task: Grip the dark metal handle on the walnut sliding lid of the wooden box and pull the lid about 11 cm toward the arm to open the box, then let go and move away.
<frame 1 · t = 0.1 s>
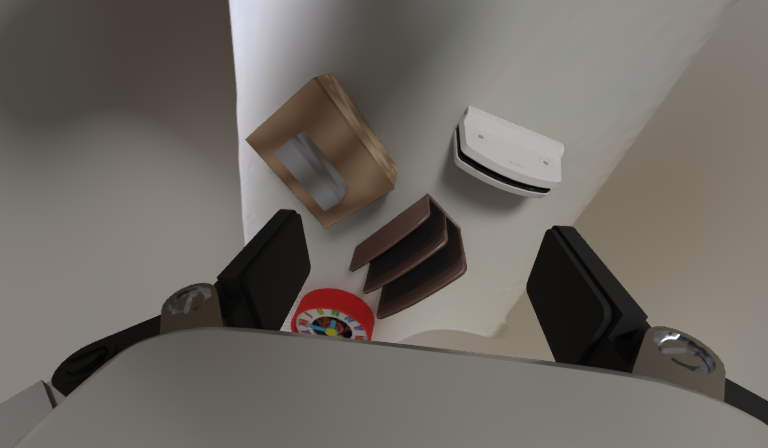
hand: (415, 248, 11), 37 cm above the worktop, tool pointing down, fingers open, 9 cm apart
lid: (316, 169, 39), point 10 cm above the worktop, slide at 0.0 cm
wooden box: (336, 147, 48), on the worktop
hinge: (501, 147, 45), on the worktop
letter holder: (405, 236, 56), on the worktop
toy clock: (337, 314, 73), on the worktop
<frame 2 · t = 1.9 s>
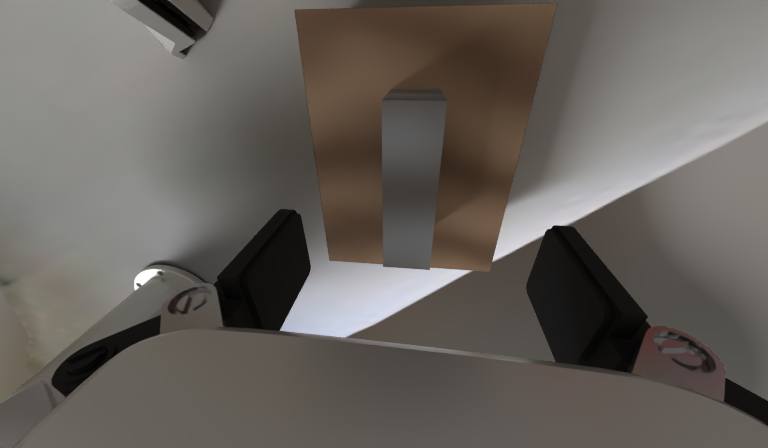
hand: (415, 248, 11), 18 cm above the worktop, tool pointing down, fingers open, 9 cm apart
lid: (411, 177, 18), point 10 cm above the worktop, slide at 0.0 cm
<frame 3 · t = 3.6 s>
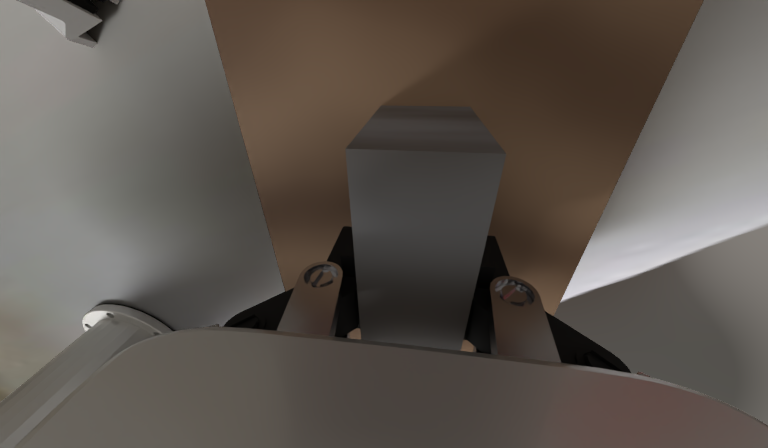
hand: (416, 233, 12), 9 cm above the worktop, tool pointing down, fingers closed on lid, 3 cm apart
lid: (415, 256, 10), point 10 cm above the worktop, slide at 0.0 cm, touching gripper
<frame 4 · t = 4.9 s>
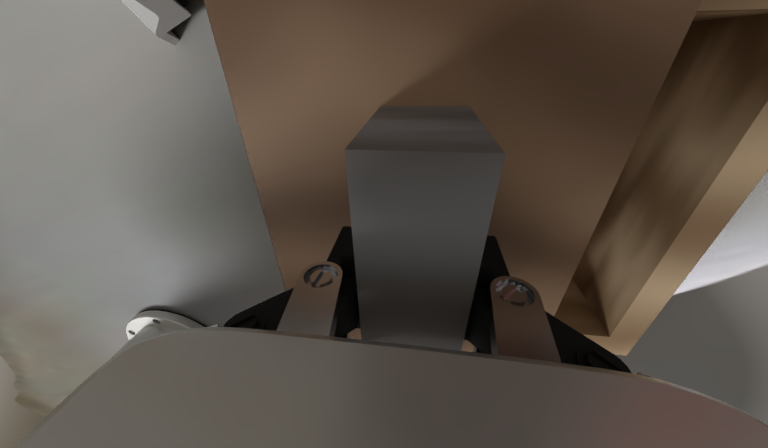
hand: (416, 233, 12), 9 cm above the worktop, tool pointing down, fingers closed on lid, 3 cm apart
lid: (415, 256, 10), point 10 cm above the worktop, slide at 5.9 cm, touching gripper
wooden box: (508, 165, 18), on the worktop
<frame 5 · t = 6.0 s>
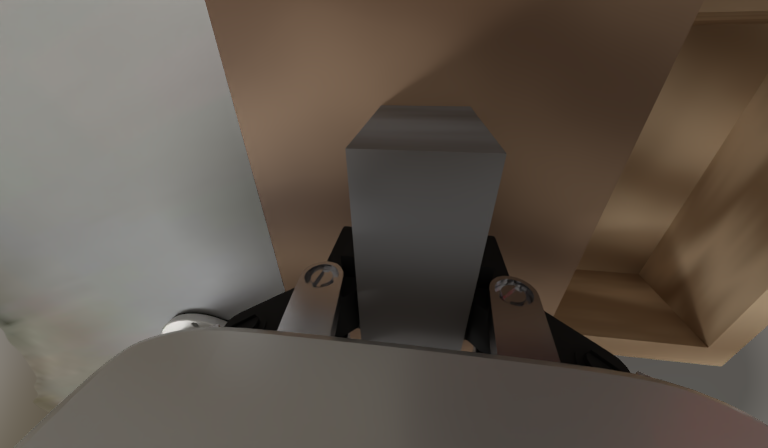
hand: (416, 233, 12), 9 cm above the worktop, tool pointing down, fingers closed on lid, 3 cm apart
lid: (415, 256, 10), point 10 cm above the worktop, slide at 11.0 cm, touching gripper
wooden box: (591, 169, 18), on the worktop
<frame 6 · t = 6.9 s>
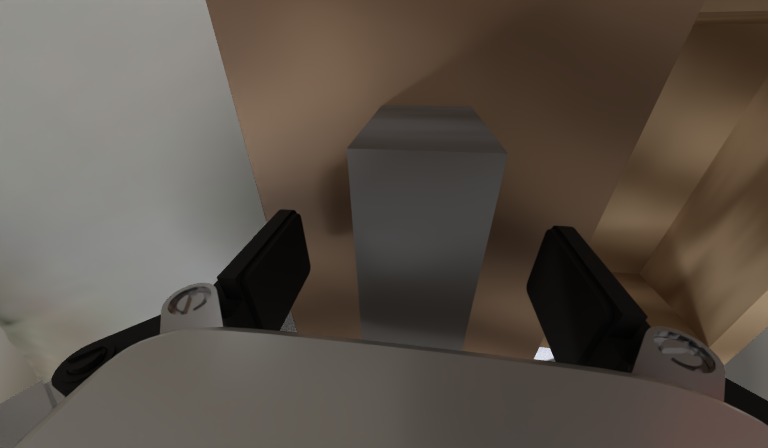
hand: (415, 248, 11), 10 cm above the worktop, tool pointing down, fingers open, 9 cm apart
lid: (415, 256, 10), point 10 cm above the worktop, slide at 11.0 cm
wooden box: (592, 169, 18), on the worktop
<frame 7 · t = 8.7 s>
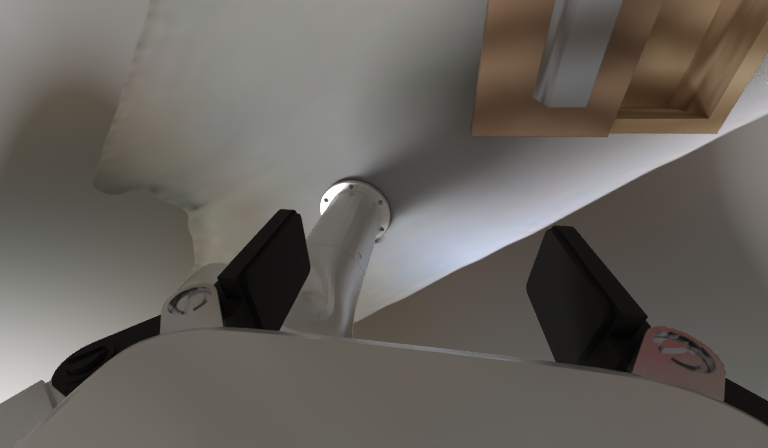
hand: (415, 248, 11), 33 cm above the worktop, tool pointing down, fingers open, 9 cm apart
lid: (572, 37, 24), point 10 cm above the worktop, slide at 11.0 cm
wooden box: (641, 33, 31), on the worktop
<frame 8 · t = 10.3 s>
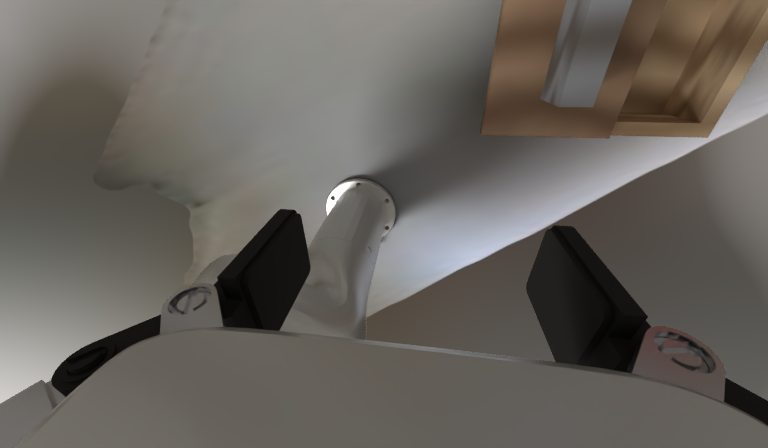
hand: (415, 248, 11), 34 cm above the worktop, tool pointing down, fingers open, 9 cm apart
lid: (579, 43, 26), point 10 cm above the worktop, slide at 11.0 cm
wooden box: (638, 44, 33), on the worktop
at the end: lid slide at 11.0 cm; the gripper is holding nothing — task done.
